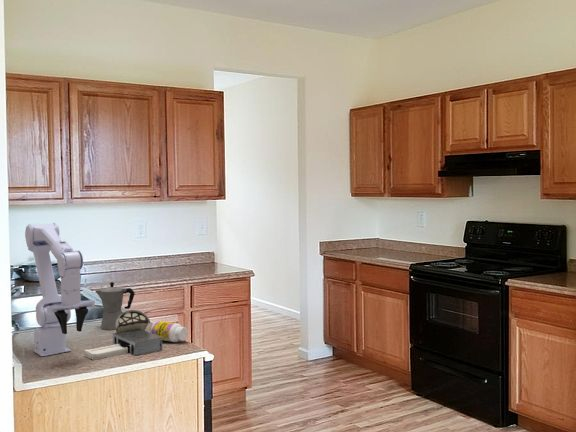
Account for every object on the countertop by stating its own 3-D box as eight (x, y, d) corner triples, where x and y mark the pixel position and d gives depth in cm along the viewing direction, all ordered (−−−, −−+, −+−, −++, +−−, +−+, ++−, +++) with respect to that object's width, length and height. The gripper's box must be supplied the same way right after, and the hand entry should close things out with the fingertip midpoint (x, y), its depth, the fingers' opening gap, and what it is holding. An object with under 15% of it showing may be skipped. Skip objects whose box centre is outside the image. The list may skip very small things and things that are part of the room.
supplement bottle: (154, 317, 208) (182, 321, 202) (164, 325, 212) (192, 328, 207) (147, 334, 204) (175, 338, 198) (157, 342, 209) (185, 346, 203)
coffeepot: (92, 330, 221) (91, 284, 220) (99, 324, 231) (98, 280, 230) (131, 330, 221) (131, 284, 220) (138, 324, 231) (137, 280, 230)
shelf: (135, 355, 188) (134, 342, 188) (113, 345, 200) (113, 333, 199) (162, 349, 194) (162, 337, 194) (139, 340, 206) (139, 328, 206)
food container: (140, 323, 215) (146, 306, 209) (145, 336, 211) (151, 319, 205) (107, 328, 208) (112, 311, 202) (111, 342, 204) (117, 324, 199)
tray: (93, 360, 183) (92, 354, 183) (84, 356, 188) (84, 350, 188) (127, 352, 191) (127, 347, 191) (119, 348, 196) (118, 343, 196)
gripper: (52, 294, 173) (53, 338, 174) (98, 288, 183) (99, 330, 183) (43, 291, 178) (44, 334, 179) (89, 285, 188) (90, 326, 189)
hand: (71, 332), depth 181 cm, fingers open, 4 cm apart
